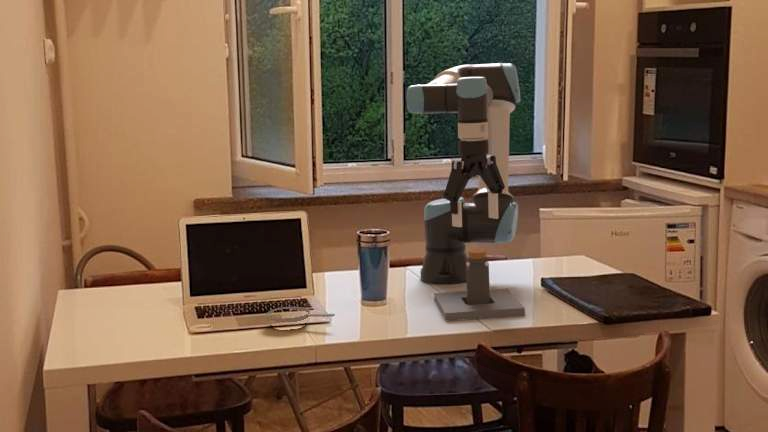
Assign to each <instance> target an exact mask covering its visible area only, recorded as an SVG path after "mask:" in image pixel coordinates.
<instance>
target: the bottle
mask: <svg viewBox="0 0 768 432" xmlns="http://www.w3.org/2000/svg"><path fill="white" fill-rule="evenodd" d="M467 254H468V255H467V257H468V258H467V262H469V263H470V265H469V266H468V267H467V268H466V281H465V282H466V291H467V305H474V304H490V290H491V288H490V266H489V267H488V266H486V265H485V262H487V261H488V258H487V250H486V249H481V248H480V249H479V248H476V249H469V250H468V251H467ZM485 256H486V257H485Z"/></svg>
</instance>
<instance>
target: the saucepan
mask: <svg viewBox="0 0 768 432" xmlns="http://www.w3.org/2000/svg"><path fill="white" fill-rule="evenodd" d="M281 309H299V310H303V311H306V312H308V314H306V315H304V316H300V317H295V318H284V319H281V318H272V317H269V316H268V314H270V313H272V312H274V311H277V310H281ZM310 311H311V310H310V309H309V308H307V307H302V306H283V307H277V308H274V309H271V310H269V311H268V312H267V313H266V319H267V318H268V319H270V320H273V321H276V322H289V323H290V322H297V321H301V320H304V319H306V318H308V317H315V318H316V317H319V318H320V317H324V318H325V317H330V318H331V317H332V318H333V317H334V316H336V315H335V313H310Z"/></svg>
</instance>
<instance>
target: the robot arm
mask: <svg viewBox="0 0 768 432" xmlns="http://www.w3.org/2000/svg"><path fill="white" fill-rule="evenodd" d="M518 76H519V75H518V70H517V67H516V66H515V64H514V63H509V62H508V63H505V62H504V63H503V62H497V63H480V64H479V63H477V64H475V63H474V64H470V63H469V64H461V65H456V66H454V67H450V68H448V69H445V70H443V71H441V72H439V73H438V74H437V75H435V77H434V78H433V80H431V81H430V82H428V83H426V84H419V83H418V84H415V85H410V86H408V88H407V90H406V98H405V99H406V108H407V111H408V112H409V113H410V114H415V115H416V114H418V115H424V114H448V113H449V114H457V138H458V139H460V140H458V154H459V155H460V158H461V159H460V160H452V161H451V167H450V168H451V170H450V173H449V176H448V181H447V183H446V186H445V190H444V194H443V198H440V199H435V200H432V201H430V202H428V203H427V204H426V205H425V206H424V213H423V214H424V216H423V217H424V218H423V221H424V240H425V242H424V243H425V254H424V258H423V262H422V266H421V267H422V268H420V272H419V273H420V280H421V281H422V282H425V283H429V284H437V285H439V284H440V285H441V284H442V285H445V284H446V285H447V284H448V285H449V284H458V283H464V282H467V281H466V263H467V258H468V257H469V256H468V255H467V254H468V253H467V251H466V250H467V249H466V244H496V245H497V244H498V245H499V244H504V243H505V244H507V243H510V242H512V241H513V240H514V238H515V235H516V232H517V226H518V219H519V203H518V202H517V201H514V196H513V195H512V194H511V192H510V191H509V167H510V166H509V164H510V163H509V162H510V161H509V160H510V125H511V124H510V119H511V118H510V117H511V115H510V114H511V113H512V112H513V111H515V109H516V104H518V103H520V102H521V90H520V84H519V77H518ZM477 176H478V185H477V186H478V189H477V191H476V192H475V193H474V194H473V195H472V202H466V200H465V198H464V197H463V196H462V195H463V193H464V190H465V189H466V186H467V185H468V182H469V181H470V180H471V179H472V177H473V178H474V177H477Z"/></svg>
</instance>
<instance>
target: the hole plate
mask: <svg viewBox="0 0 768 432" xmlns="http://www.w3.org/2000/svg"><path fill="white" fill-rule="evenodd" d="M433 295H434V296H433V297H434V298H433V300H434V302H435V304H436V306H437V309H438V310H439V309H440V310H439V311H441V312H440V313H442V314H441V315H442V317H443V316H444V317H443V319H444V318H445V319H444V321H445V320H453V321H459V320H458V319H468V320H479V319H480V318H483V319H495V318H496V317H497V318H509V317H525V316H526V308H525V306H524V305H523V304H522V303H521V302H520V301H519V300H518V298H517V297H516V296H515V294H514V293H512V292H511V290H510V289H509V288H496V289H495V288H494V289H493V288H492V289H491V288H490V304H474V305H467V290H466V291H465V290H463V291H449V292H447V291H446V292H434V294H433Z"/></svg>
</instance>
